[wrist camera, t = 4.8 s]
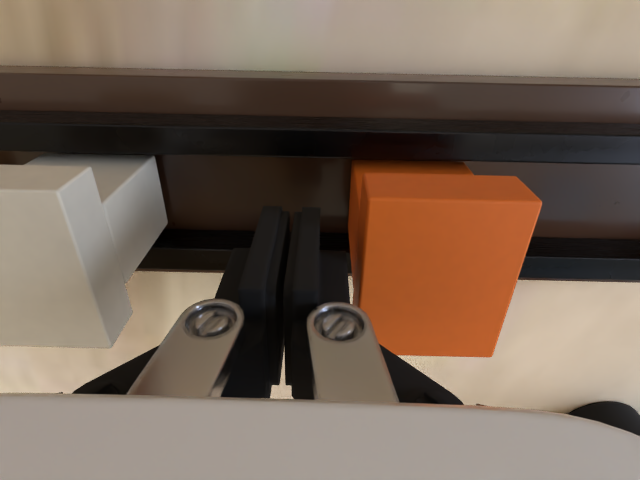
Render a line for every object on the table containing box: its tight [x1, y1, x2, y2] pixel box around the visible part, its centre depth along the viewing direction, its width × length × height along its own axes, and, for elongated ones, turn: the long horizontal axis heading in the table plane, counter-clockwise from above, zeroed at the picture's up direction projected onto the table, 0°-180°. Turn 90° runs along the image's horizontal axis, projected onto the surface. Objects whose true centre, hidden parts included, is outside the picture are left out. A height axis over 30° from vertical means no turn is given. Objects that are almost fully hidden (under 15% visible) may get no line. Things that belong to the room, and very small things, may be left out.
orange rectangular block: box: [348, 160, 542, 357], centre depth 13 cm, size 5×4×6 cm
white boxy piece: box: [0, 153, 168, 348], centre depth 13 cm, size 5×4×6 cm
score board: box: [0, 66, 640, 282], centre depth 16 cm, size 8×30×2 cm, turn 89°
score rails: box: [0, 110, 640, 280], centre depth 15 cm, size 6×30×2 cm, turn 89°
